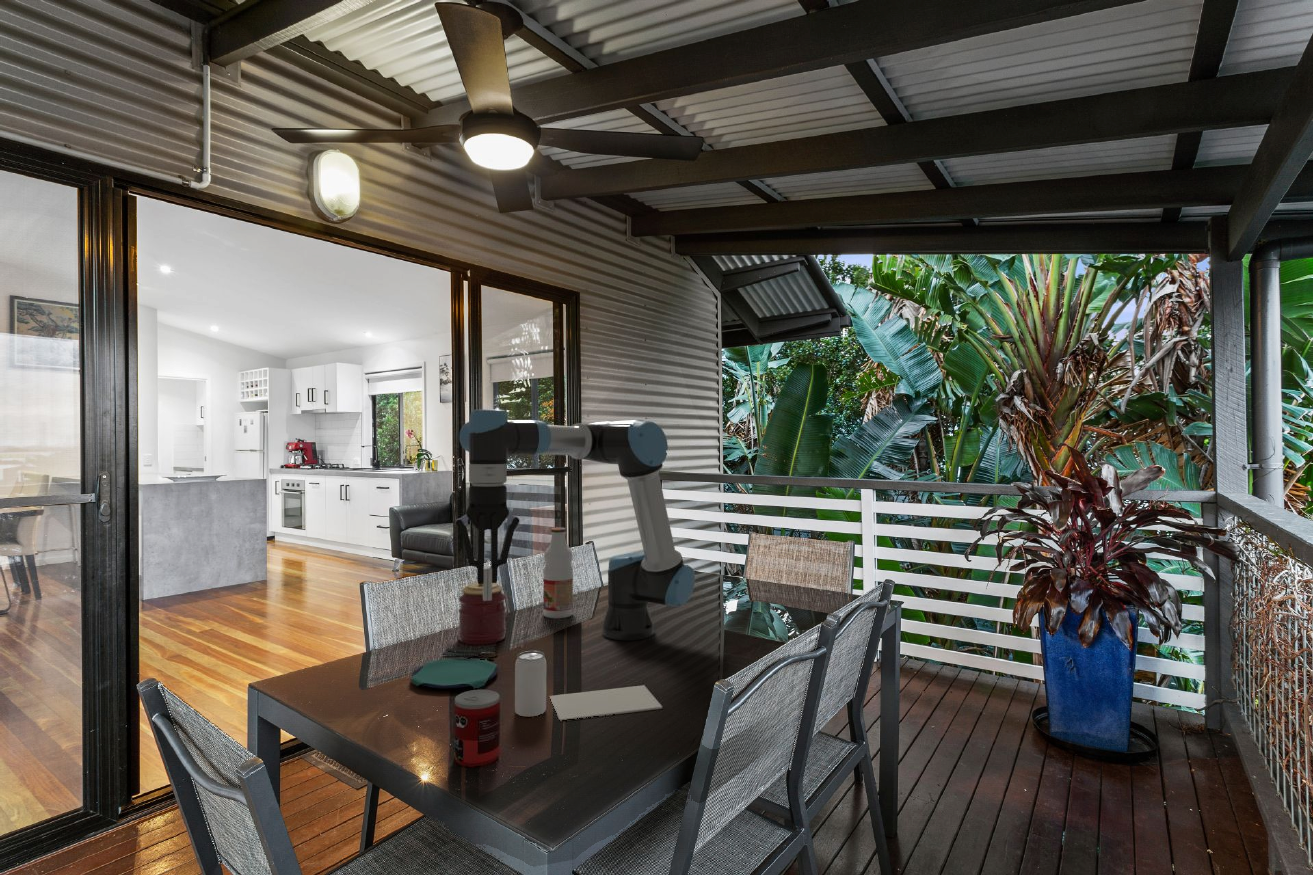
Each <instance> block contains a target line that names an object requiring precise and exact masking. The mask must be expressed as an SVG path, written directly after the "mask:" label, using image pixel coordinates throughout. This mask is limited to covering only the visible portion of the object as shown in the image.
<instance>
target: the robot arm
mask: <svg viewBox="0 0 1313 875" xmlns="http://www.w3.org/2000/svg"><path fill="white" fill-rule="evenodd" d="M459 443H460V445H461V447H462V449H463V450H464V451H466V452H468V455H469V456H468V457H469V460H468V461H469V464H468V482H469V483H470V484H471V485H470V486H469V487H468V507H467V510H466V512H465V513H466V514H464V515H463V516H461V517H460V518H456V519H455V524H456V526H457V528H458V529H459V530H460V533H461V537H462V541H463V545H464V549H465V554H466V559H467V562H468V565H469V566H470V567H476V569H477V570H476V571H477V572H476V574H477V575H476V576H477V577H476V578H477V579H476V581H477V582H478V584H483V600H484V601H487V599H488V601H490V600H492V583H497V582H498V568H499V567H500V566H502V565H505V564H507V561H508V559H509V558H508V557H509V554H510V549H511V545H512V541H513V536H514V533H515V530H516V527H517V526H518V525H519V523H520V518H519V517H518V516H514V515H513V514H511V513H510V511H509V508H508V505H507V503H508V502H507V497H508V496H507V489H508V488H507V486H506V485H505V484H506V483H507V481H508V480H507V475H508V473H507V463H508V456H510V455H511V456H512V455H513V456H520V455H521V456H524V455H531V456H535V455H549V456H551V455H552V456H570V457H571V458H572V459H575V460H586V461H592V462H597V463H602V464H607V465H608V464H609V465H610V464H611V465H617V466H618V470H619V474H620V476H621V477H622V478H623V479H625V480H627V484H628V485H627V486H628V488H629V494H630V496H631V502H632V505H633V510H634V515H635V519H636V523H637V528H638V533H639V537H640V542H641V545H642V546H641V547H642V549H643V552H635V553H627V554H626V553H625V554H620V555H615V556H612V557H611V558H609V560H608V570H607V592H608V593H607V596H608V597H607V600H608V601H607V604H608V605H607V609H606V612H605V615H604V616H605V617H604V619H603V623H602V626H601V635H602V636H603V637H605V638H608V639H610V640H616V641H617V640H618V641H638V640H644V639H647V638H650V637H652V636H653V635H654V627H655V626H654V622H653V620H652V616H651V613H650V610H649V603H653V604H658V605H663V606H666V607H676V608H677V607H682V606H684V605H685V604H687V602H688V601H690V598H691V597H692V593H693V591H694V588H695V583H696V582H695V581H696V575H695V574H696V573H695V570H694V569H693V567H691V566H690V565H689V564H685V562H684V560H683V556H682V553H681V552H680V551H677V549H675V543H674V538H673V534H672V529H671V525H670V520H669V516H668V515H669V514H668V511H667V506H666V502H665V496H664V492H663V488H662V484H661V477H660V473H659V472H660V471H661V470H662V469H663V463H664V462H665V461H666V458H667V457H668V456H667V455H668V453H667V451H668V448H669V445H668V439H667V437H666V434H665V432H664V430H663V429H662V427H661V426H659V424H657V423H655V422H654V421H650V420H649V421H648V420H647V421H646V420H642V419H637V420H605V421H597V422H589V423H582V422H581V423H580V422H579V423H578V422H576V423H574V424H572V425H570V426H569V425H556V424H555V425H554V424H547V423H546V422H544V421H542V420H535V419H508V413H507V411H506V410H504V409H488V408H487V409H485V408H484V409H483V408H481V409H474V410H472V411H471V412H470V414H469V421H467V422H466V423H464V424H463V426H461V428H460V431H459ZM506 519H507V520H506ZM468 520H470V522H471V523H472V525H473V526H474V528H475V529H477V547H476V548H477V550H476V551H477V552H476V553H477V557H476V559H475V558H474V553H473V549H472V545H471V540H470V536H469V532H468V529H467V527H468V525H469V522H468ZM505 521H506V524H507V527H506V532H505V536H504V540H503V544H502V548H501V550H500V555H499V553H498V552H499V550H498V549H499V548H498V547H499V546H498V545H499V544H498V542H499V541H498V540H499V539H498V538H499V537H498V535H499V528H500V527H501V526H502V525H503V523H504V522H505ZM487 530H489V531H490V566H488V565H486V566H485V535H486V534H485V532H486V531H487ZM498 555H499V557H498ZM497 584H498V583H497Z"/></svg>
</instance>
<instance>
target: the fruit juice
mask: <svg viewBox="0 0 1313 875" xmlns="http://www.w3.org/2000/svg"><path fill="white" fill-rule="evenodd" d="M550 534H551V538H550V543H549V545H548V547H547V548H546V549H545V551H544V554H543V560H544V564H545V565H544V568H543V575H542V576H543V578H542V579H543V582H542V583H543V590H542V591H543V594H542V595H543V596H542V597H543V600H542V601H543V602H542V603H543V604H542V606H543V607H542V608H543V609H542V610H543V612H542V613H543V616H544V617H545V618H549V619H563V618H564V619H565V618H568V617H571V616H572V615H573V612H574V610H573V609H574V608H573V606H574V605H573V604H574V602H573V601H574V599H573V598H574V595H573V594H574V593H573V591H574V590H573V588H574V587H573V586H574V571H573V567H572V562H573V551H572V549H571V548H570V546H569V545H568V542H567V540H566V539H567V538H566V534H567V528H565V527H560V526H559V527H557V526H556V527H551V528H550Z"/></svg>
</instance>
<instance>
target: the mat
mask: <svg viewBox="0 0 1313 875" xmlns="http://www.w3.org/2000/svg"><path fill="white" fill-rule="evenodd" d="M548 697H550V698H549V700H550V699H551V701H550V702H552V703H551V705H552V704H553V705H552V707H553V706H554V707H553V709H555V710H554V712H555V711H556V712H555V714H556V713H557V714H556V716H557V718H558V720H560V721H559V722H563V721H562V720H567V719H575V720H580V719H579V718H583V719H589V718H588V717H591V718H594V717H593V716H599V717H606V716H612V715H613V714H615V715H621V714H628V713H636V712H637V713H638V712H646V711H652V710H653V711H654V710H661V709H663V706H662V704H661V703H660V702H659V701H658V700H657V699H656V697H655V696H654V695H653V694H652V693H651V692H650V689H648V687H646V686H645V684H643V685H636V686H634V685H633V686H627V687H617V688H609V689H600V690H590V691H582V692H581V691H580V692H573V693H564V694H557V695H549V696H548ZM605 715H606V716H605ZM586 717H587V718H586ZM577 718H578V719H577ZM567 721H568V720H567Z"/></svg>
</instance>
